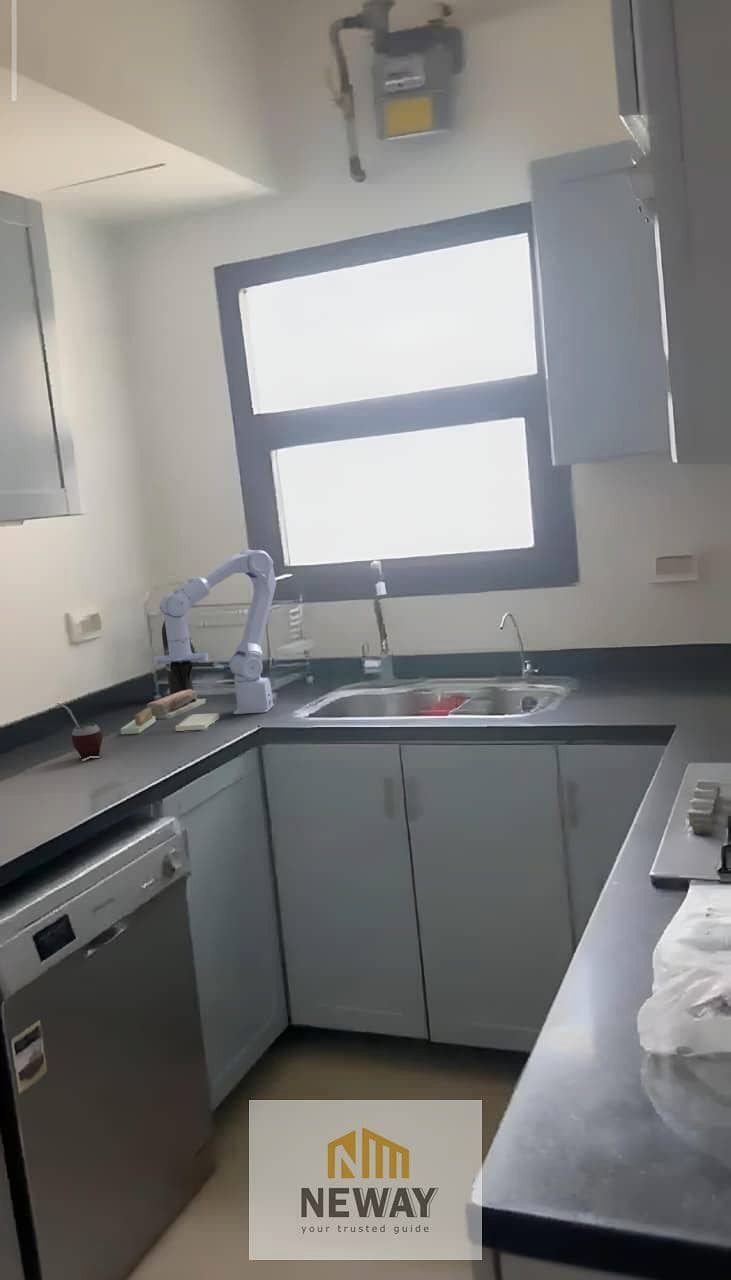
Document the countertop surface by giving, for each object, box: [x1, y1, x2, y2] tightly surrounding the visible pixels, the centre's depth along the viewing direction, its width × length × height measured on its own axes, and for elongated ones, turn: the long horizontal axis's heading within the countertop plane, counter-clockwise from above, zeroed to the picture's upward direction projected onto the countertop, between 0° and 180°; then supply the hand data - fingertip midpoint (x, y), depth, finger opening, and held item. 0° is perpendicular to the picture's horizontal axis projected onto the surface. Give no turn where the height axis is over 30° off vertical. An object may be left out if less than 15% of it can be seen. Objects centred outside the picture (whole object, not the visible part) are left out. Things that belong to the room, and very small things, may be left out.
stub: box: [120, 708, 157, 735], centre depth 284 cm, size 5×12×4 cm, turn 170°
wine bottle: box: [161, 620, 194, 695], centre depth 317 cm, size 7×7×30 cm
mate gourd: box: [56, 702, 103, 760], centre depth 257 cm, size 8×8×15 cm
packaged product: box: [145, 689, 206, 720], centre depth 302 cm, size 18×5×10 cm
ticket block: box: [174, 712, 220, 732], centre depth 281 cm, size 8×12×2 cm, turn 170°
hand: (185, 689), depth 282 cm, fingers closed
